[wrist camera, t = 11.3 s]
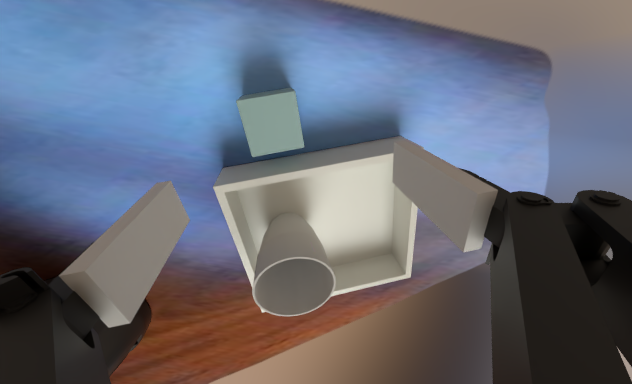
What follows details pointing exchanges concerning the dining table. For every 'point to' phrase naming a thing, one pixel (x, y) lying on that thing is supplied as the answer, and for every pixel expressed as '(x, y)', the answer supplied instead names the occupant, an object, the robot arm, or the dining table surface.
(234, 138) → the dining table surface
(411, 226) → the tote
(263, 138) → the cube
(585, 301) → the robot arm
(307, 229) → the cup
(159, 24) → the dining table surface
